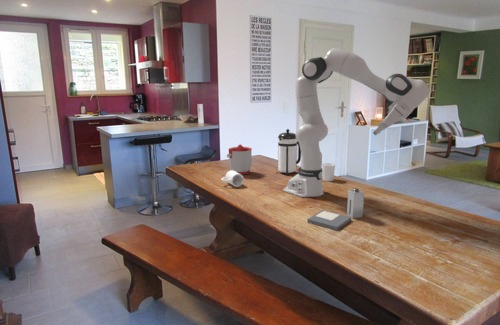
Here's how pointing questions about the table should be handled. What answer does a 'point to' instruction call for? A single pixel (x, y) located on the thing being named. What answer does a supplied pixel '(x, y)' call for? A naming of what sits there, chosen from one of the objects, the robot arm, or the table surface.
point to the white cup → (328, 171)
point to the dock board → (329, 220)
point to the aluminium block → (355, 203)
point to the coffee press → (288, 152)
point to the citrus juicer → (240, 159)
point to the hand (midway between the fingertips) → (375, 133)
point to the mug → (233, 178)
